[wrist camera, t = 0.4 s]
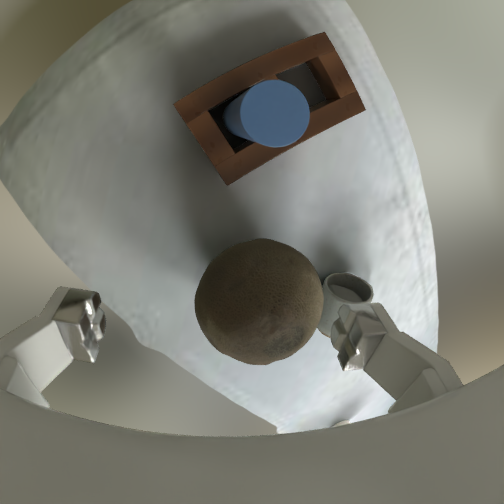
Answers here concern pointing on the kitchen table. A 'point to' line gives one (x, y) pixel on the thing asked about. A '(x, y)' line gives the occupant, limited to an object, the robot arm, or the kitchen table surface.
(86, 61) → the kitchen table surface
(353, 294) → the ceramic mug
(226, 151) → the peg block
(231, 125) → the peg
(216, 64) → the kitchen table surface
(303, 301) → the cantaloupe
